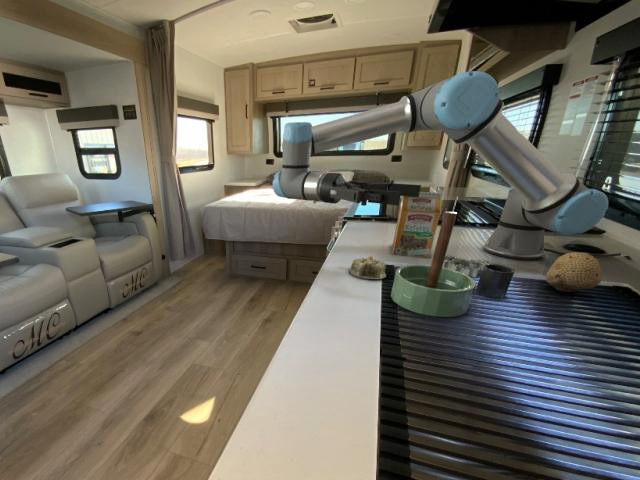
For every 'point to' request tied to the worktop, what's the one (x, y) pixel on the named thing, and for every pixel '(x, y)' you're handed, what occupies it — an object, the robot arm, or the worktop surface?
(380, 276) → the cake
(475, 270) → the egg carton
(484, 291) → the utensil cup
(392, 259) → the worktop surface
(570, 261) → the natural sponge
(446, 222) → the stick
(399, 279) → the bowl
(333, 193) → the robot arm
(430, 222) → the yellow food carton
